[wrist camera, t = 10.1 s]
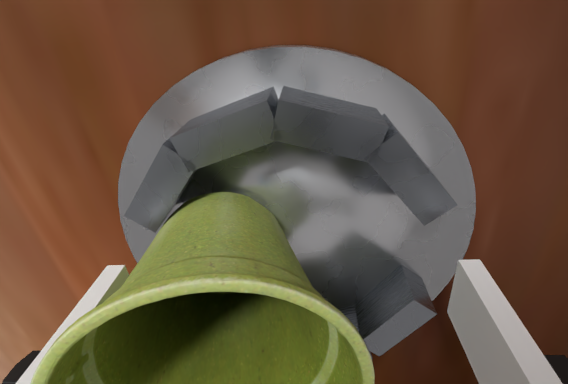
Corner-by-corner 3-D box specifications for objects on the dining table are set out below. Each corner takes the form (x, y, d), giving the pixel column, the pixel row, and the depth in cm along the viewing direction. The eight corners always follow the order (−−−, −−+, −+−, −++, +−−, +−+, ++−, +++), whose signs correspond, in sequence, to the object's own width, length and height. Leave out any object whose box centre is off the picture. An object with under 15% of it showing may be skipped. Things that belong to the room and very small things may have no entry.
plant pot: (310, 144, 16) (383, 255, 8) (318, 299, 20) (371, 473, 12) (101, 169, 15) (-48, 319, 7) (154, 324, 19) (97, 528, 11)
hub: (268, -65, 12) (255, -90, 9) (541, 217, 17) (592, 262, 14) (73, 230, 20) (29, 271, 16) (303, 372, 24) (302, 424, 21)
